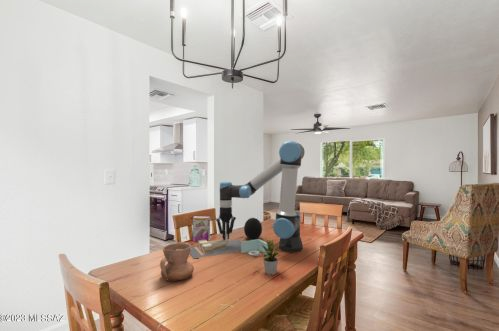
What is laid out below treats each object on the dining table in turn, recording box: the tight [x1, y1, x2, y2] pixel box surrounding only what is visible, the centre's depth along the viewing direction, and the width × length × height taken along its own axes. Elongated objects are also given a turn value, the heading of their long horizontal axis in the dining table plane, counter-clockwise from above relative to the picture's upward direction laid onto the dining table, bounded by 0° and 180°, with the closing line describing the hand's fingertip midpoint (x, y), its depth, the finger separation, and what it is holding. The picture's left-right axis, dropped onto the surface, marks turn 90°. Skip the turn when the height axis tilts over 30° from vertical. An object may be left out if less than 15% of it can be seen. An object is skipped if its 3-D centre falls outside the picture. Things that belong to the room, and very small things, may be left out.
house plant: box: [257, 236, 283, 275], centre depth 125 cm, size 14×14×16 cm
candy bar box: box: [191, 215, 211, 243], centre depth 175 cm, size 11×5×16 cm, turn 84°
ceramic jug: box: [159, 241, 195, 282], centre depth 118 cm, size 18×14×14 cm
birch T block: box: [197, 239, 226, 254], centre depth 158 cm, size 15×15×4 cm
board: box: [189, 239, 242, 260], centre depth 159 cm, size 22×36×1 cm, turn 117°
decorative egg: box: [243, 217, 263, 240], centre depth 179 cm, size 12×12×15 cm
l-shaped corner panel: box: [240, 238, 268, 258], centre depth 148 cm, size 12×12×8 cm
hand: (225, 244), depth 161 cm, fingers closed
